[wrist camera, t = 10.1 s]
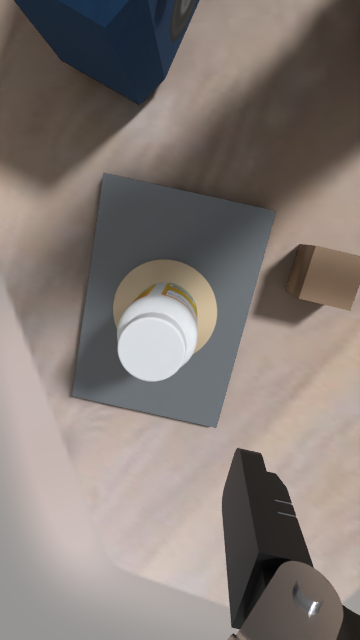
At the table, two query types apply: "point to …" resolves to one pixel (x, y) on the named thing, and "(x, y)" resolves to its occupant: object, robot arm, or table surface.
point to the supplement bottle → (158, 332)
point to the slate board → (174, 267)
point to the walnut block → (325, 276)
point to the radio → (114, 38)
